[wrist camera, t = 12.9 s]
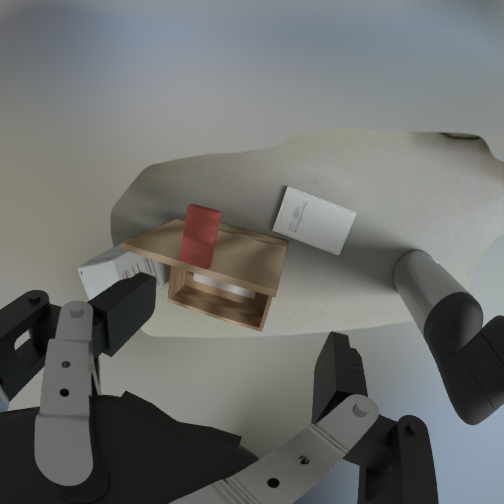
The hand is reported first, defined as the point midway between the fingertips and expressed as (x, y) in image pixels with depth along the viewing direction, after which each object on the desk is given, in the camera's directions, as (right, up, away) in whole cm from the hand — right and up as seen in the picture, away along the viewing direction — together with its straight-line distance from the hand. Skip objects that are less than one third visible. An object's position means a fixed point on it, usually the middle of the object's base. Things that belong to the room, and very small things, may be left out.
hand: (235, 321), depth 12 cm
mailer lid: (-4, +3, +24) cm, 25 cm away
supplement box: (-20, +2, +43) cm, 48 cm away
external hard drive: (+11, +9, +36) cm, 38 cm away
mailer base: (-3, +1, +40) cm, 40 cm away
